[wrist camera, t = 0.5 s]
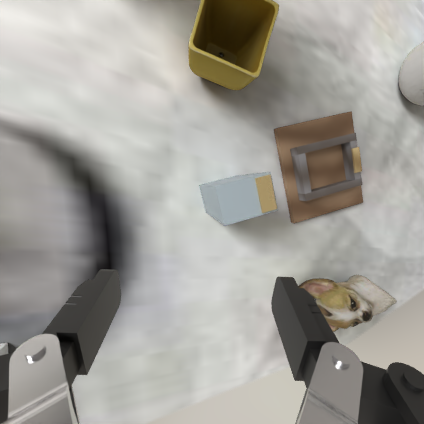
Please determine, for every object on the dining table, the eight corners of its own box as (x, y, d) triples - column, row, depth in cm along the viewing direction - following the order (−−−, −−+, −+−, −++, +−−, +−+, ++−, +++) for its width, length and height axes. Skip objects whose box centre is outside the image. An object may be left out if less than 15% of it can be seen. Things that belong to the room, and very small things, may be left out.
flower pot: (198, 22, 33) (210, -36, 24) (252, 48, 35) (281, 3, 26) (181, 82, 34) (187, 47, 25) (235, 104, 36) (258, 78, 27)
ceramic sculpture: (409, 335, 37) (325, 363, 35) (366, 307, 46) (296, 328, 44) (403, 275, 35) (315, 301, 34) (360, 257, 44) (288, 277, 42)
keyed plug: (199, 185, 36) (215, 186, 24) (237, 175, 37) (271, 171, 25) (205, 212, 37) (225, 226, 25) (243, 201, 38) (278, 210, 26)
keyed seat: (273, 129, 37) (284, 124, 34) (346, 113, 39) (362, 106, 36) (291, 222, 40) (302, 225, 37) (358, 201, 42) (374, 203, 39)
